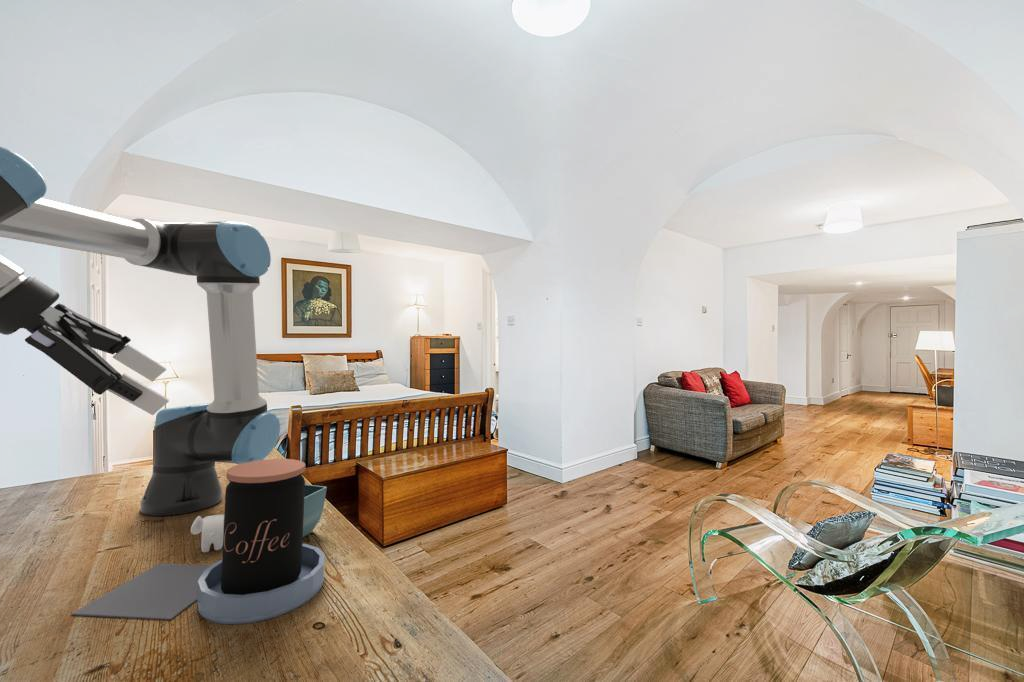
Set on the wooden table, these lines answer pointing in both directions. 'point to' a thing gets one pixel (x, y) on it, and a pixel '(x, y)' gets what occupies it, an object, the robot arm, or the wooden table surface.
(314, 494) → the flower pot
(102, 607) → the mat
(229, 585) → the coffee jar
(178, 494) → the robot arm
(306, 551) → the bowl
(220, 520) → the elephant figurine
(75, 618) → the wooden table surface
